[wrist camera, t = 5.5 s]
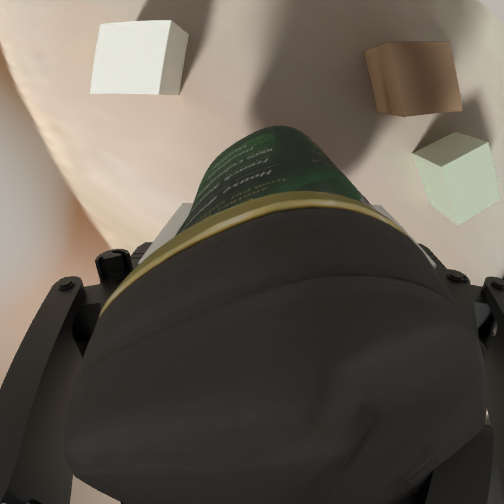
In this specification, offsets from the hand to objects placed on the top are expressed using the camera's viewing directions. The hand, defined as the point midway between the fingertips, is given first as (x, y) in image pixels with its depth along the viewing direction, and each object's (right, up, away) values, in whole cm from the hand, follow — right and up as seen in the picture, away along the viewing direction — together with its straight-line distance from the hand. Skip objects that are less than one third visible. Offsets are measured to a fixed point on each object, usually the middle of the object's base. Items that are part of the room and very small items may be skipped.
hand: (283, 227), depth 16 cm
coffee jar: (0, +2, +4) cm, 4 cm away
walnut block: (+10, +12, +3) cm, 16 cm away
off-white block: (-9, +13, +3) cm, 16 cm away
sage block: (+15, +6, +6) cm, 17 cm away
